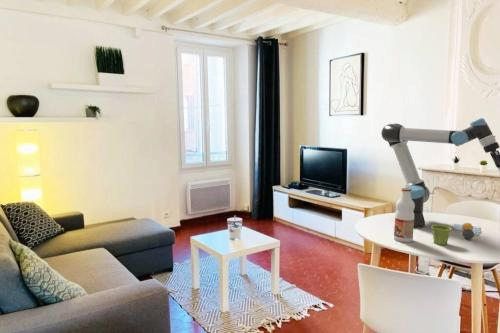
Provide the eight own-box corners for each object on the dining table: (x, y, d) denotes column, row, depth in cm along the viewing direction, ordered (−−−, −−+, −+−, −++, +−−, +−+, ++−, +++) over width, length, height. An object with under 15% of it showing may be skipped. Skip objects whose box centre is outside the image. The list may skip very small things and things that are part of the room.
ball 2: (466, 240, 198) (466, 230, 198) (459, 237, 204) (460, 227, 203) (475, 240, 199) (476, 230, 198) (469, 237, 204) (470, 227, 204)
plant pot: (441, 247, 188) (442, 230, 187) (426, 241, 196) (427, 225, 195) (454, 245, 191) (455, 228, 190) (438, 239, 200) (440, 224, 199)
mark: (481, 233, 212) (481, 233, 212) (453, 229, 219) (453, 229, 219) (479, 227, 224) (479, 227, 224) (453, 223, 231) (453, 223, 231)
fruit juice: (412, 243, 193) (416, 190, 189) (393, 241, 196) (396, 189, 193) (412, 238, 201) (416, 187, 198) (394, 236, 205) (397, 186, 201)
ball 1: (465, 233, 211) (466, 224, 210) (459, 231, 216) (460, 221, 215) (474, 233, 211) (475, 224, 210) (468, 230, 216) (469, 221, 216)
